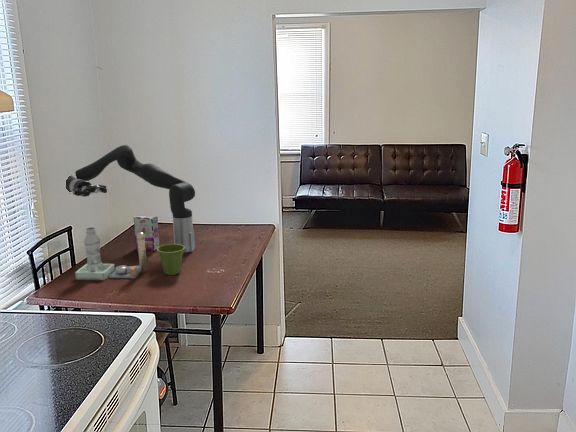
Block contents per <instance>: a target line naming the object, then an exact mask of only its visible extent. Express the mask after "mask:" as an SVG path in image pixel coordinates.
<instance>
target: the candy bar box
mask: <svg viewBox="0 0 576 432" xmlns="http://www.w3.org/2000/svg"><path fill="white" fill-rule="evenodd" d="M158 219H159V217H158V216H157V215H156V216H155V215H143V214H138V215H136V216H133V225H134V226H133V227H134V238H135V249H137V250H138V241H137V237H136V236H137V234H138V233H140V232H142V233H144V234H145V250H146V251H154V252H155V251H157V248H158V247H159V246H161V245H160V233H159V232H160V231H159V220H158Z"/></svg>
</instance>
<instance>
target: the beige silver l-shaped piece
mask: <svg viewBox="0 0 576 432" xmlns="http://www.w3.org/2000/svg"><path fill="white" fill-rule="evenodd" d="M136 237H137V241H138V249H137V252H138V262H139V263H138V264H139V265H131V266H128V265H123V264H122V265H118V266H115V270H116V273H118V274H123V273H126V272H131V267H135V271H141V272H144V271H147V270H148V263H147V253H146V251H147V250H145V234H144V233H142V232H140V233H138V234H137V236H136Z"/></svg>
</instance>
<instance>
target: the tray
mask: <svg viewBox="0 0 576 432" xmlns="http://www.w3.org/2000/svg"><path fill="white" fill-rule="evenodd" d="M102 264H103V270H102V272H88V270H87V263H85V264H84V265H82V267H80V268H78V270H76V271H75V272H74V278H75V279H74V280H76V281H106V280H107V279H108V278H109V275H111V274H112V273H113V272H114V271H115V270H116V269H115V268H116V264H115V263H102ZM105 279H106V280H105Z"/></svg>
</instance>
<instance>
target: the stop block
mask: <svg viewBox="0 0 576 432" xmlns="http://www.w3.org/2000/svg"><path fill="white" fill-rule="evenodd" d="M131 275H135V267H131Z"/></svg>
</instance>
